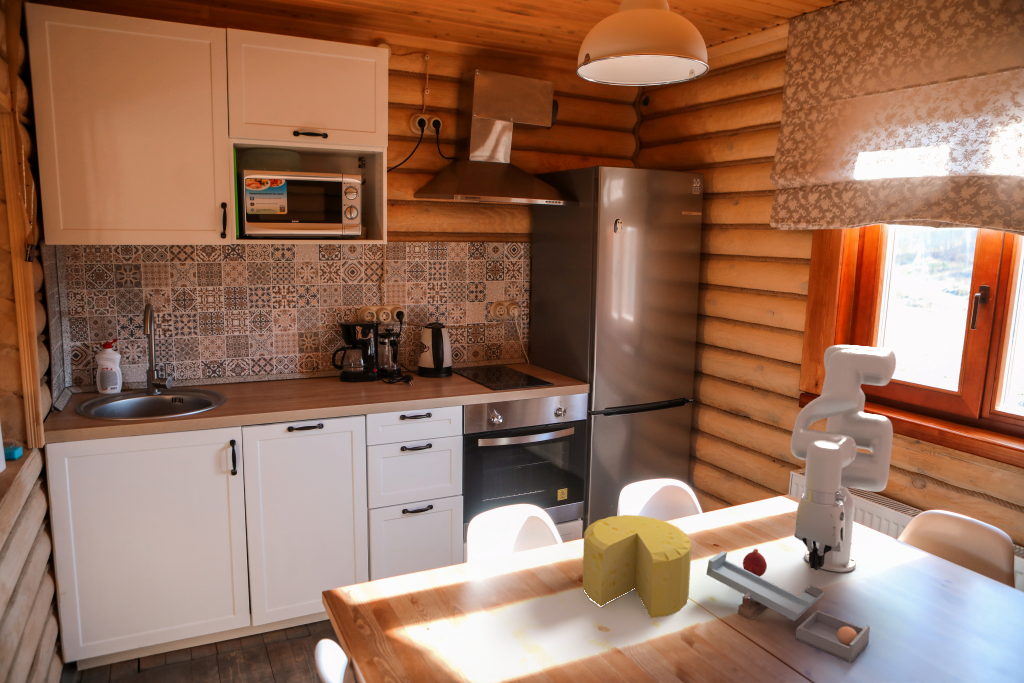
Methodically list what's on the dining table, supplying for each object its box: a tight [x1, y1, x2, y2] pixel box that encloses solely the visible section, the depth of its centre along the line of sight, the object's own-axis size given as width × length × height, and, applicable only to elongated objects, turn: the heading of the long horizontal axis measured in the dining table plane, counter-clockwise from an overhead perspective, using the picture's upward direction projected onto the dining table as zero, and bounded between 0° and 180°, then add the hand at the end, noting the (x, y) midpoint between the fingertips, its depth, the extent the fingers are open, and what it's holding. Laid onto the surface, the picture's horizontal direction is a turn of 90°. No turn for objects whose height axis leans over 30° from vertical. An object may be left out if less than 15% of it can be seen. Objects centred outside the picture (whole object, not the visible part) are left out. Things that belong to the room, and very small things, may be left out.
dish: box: [795, 610, 871, 664], centre depth 148 cm, size 10×12×4 cm
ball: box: [837, 626, 857, 647], centre depth 145 cm, size 4×4×4 cm
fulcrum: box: [737, 596, 768, 621], centre depth 160 cm, size 10×3×4 cm, turn 134°
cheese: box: [582, 514, 692, 619], centre depth 168 cm, size 26×26×15 cm
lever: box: [706, 550, 825, 622], centre depth 162 cm, size 18×22×4 cm
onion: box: [742, 548, 768, 577], centre depth 175 cm, size 6×6×8 cm
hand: (815, 567), depth 160 cm, fingers closed
